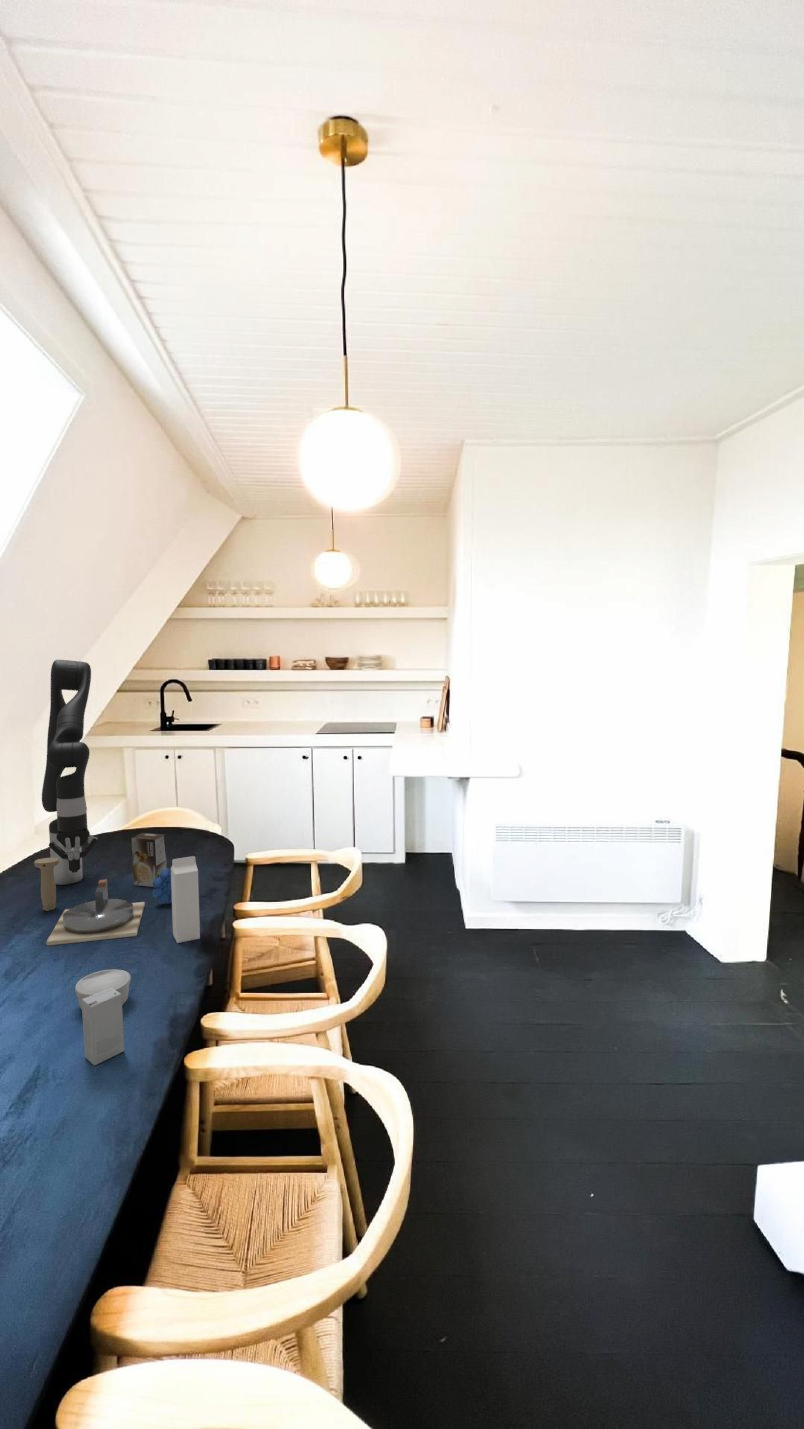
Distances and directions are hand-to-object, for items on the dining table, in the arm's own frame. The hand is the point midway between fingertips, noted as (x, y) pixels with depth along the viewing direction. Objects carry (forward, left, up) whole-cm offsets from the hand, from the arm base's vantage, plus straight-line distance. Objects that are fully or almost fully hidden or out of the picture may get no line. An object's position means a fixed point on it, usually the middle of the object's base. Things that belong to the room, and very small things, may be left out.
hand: (75, 871), depth 188 cm
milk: (+21, +31, -14) cm, 40 cm away
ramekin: (+51, +15, -14) cm, 55 cm away
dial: (+6, +7, -13) cm, 15 cm away
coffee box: (-24, +18, -14) cm, 33 cm away
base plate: (+6, +7, -14) cm, 16 cm away
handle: (-9, -9, -14) cm, 19 cm away
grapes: (-5, +26, -14) cm, 30 cm away
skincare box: (+71, +18, -14) cm, 74 cm away
